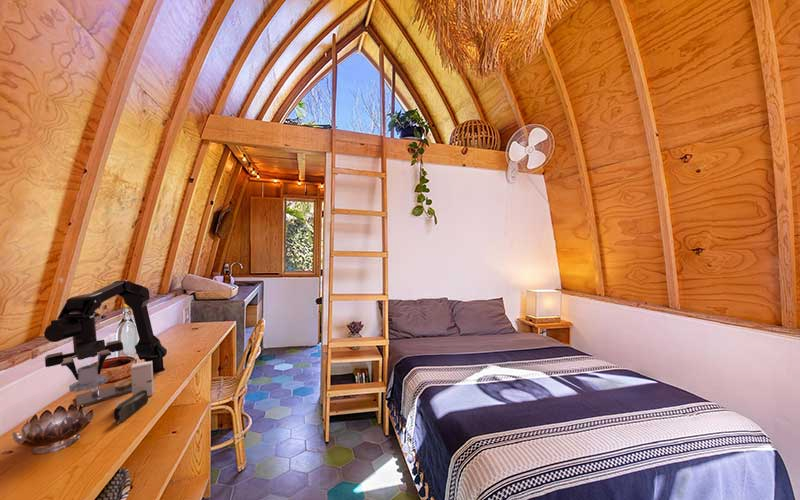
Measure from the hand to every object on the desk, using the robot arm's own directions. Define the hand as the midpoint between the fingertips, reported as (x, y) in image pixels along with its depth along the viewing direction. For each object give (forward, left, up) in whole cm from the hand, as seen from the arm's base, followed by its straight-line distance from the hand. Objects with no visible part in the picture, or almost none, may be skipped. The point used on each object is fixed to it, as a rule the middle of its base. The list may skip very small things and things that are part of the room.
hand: (88, 377), depth 108 cm
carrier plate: (-6, -12, -12) cm, 18 cm away
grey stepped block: (0, 0, -3) cm, 3 cm away
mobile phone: (-9, +14, -12) cm, 21 cm away
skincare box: (-14, +2, -12) cm, 19 cm away
